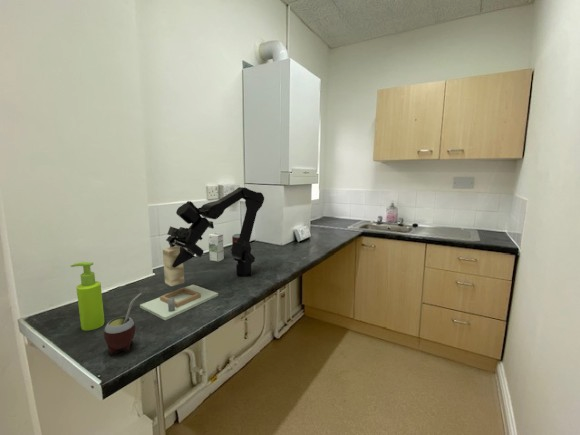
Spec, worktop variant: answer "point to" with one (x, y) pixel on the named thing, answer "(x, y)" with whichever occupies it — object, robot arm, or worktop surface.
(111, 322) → the mate gourd
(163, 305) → the seat plate
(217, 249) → the syrup box
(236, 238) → the soda can
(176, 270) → the pine post
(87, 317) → the soap dispenser
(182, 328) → the worktop surface
